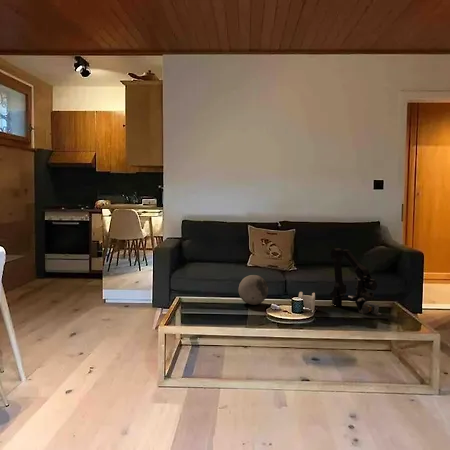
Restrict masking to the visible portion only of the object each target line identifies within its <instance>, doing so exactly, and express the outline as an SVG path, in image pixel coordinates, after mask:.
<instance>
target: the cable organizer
mask: <svg viewBox="0 0 450 450" xmlns="http://www.w3.org/2000/svg"><path fill="white" fill-rule="evenodd" d="M298 298H301V299H303V301H304V307H305V308H309V309H311V310H313V311H314V312H315V305H316V293H315V292H312V293H311V295H307V294H306V295H305V294H304V293H303V291H299V292H298ZM298 298H297V299H298Z"/></svg>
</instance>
